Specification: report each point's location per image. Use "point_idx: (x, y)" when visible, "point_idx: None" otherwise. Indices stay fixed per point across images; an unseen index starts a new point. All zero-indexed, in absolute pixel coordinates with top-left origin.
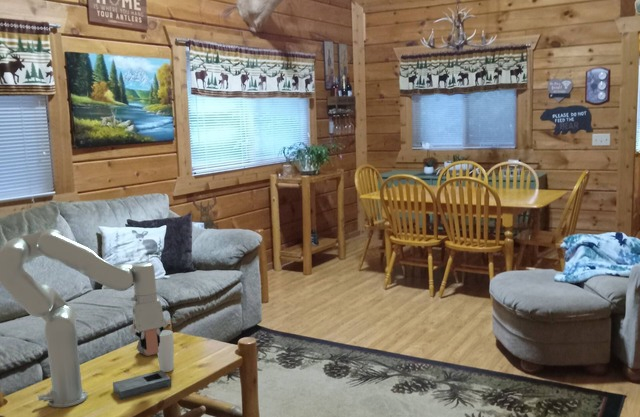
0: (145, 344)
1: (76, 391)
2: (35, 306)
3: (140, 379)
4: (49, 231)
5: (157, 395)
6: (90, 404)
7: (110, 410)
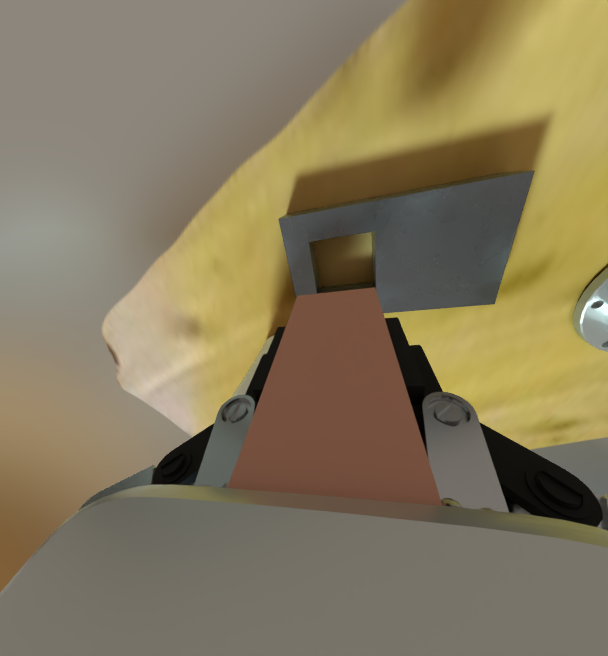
0: (397, 342)
1: None
2: None
3: (391, 275)
4: None
5: (354, 137)
6: None
7: None
